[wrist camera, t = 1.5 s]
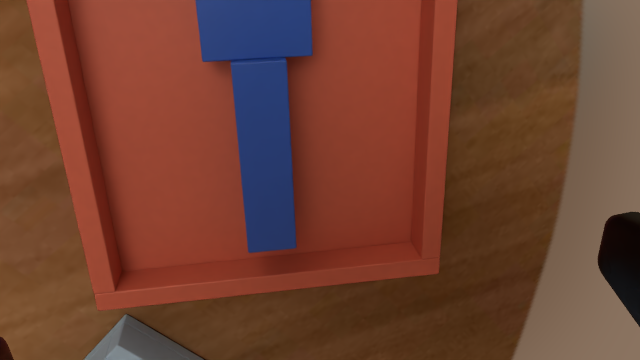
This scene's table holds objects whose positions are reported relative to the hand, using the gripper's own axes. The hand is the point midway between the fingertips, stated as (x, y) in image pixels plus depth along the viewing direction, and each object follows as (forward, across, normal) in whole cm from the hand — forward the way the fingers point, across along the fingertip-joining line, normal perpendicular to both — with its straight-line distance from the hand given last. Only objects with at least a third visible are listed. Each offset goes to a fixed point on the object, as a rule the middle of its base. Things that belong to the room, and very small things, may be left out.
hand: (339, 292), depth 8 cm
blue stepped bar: (+13, -1, +1) cm, 13 cm away
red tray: (+14, -1, +1) cm, 14 cm away
